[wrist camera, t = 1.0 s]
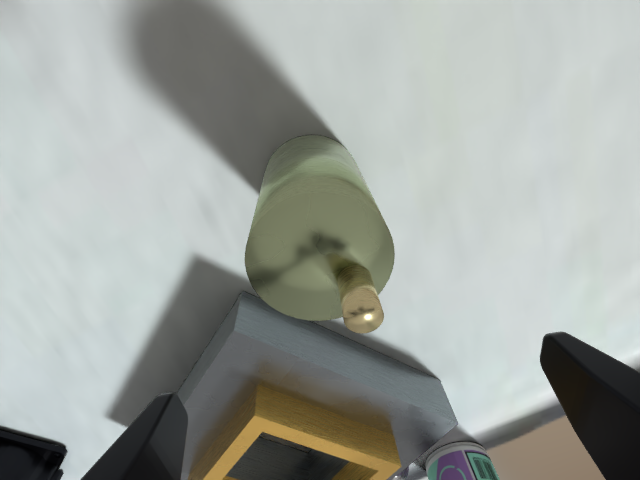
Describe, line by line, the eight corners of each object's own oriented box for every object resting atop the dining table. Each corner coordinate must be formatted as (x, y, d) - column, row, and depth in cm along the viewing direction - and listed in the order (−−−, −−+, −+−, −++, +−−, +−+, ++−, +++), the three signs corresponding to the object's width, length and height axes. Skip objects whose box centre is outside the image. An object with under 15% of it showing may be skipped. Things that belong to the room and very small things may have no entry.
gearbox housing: (148, 437, 28) (117, 518, 23) (242, 290, 22) (227, 359, 17) (341, 495, 34) (348, 571, 29) (459, 389, 28) (494, 462, 23)
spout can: (247, 198, 20) (206, 324, 11) (294, 115, 18) (293, 185, 9) (326, 240, 21) (347, 382, 12) (377, 167, 19) (446, 272, 10)
